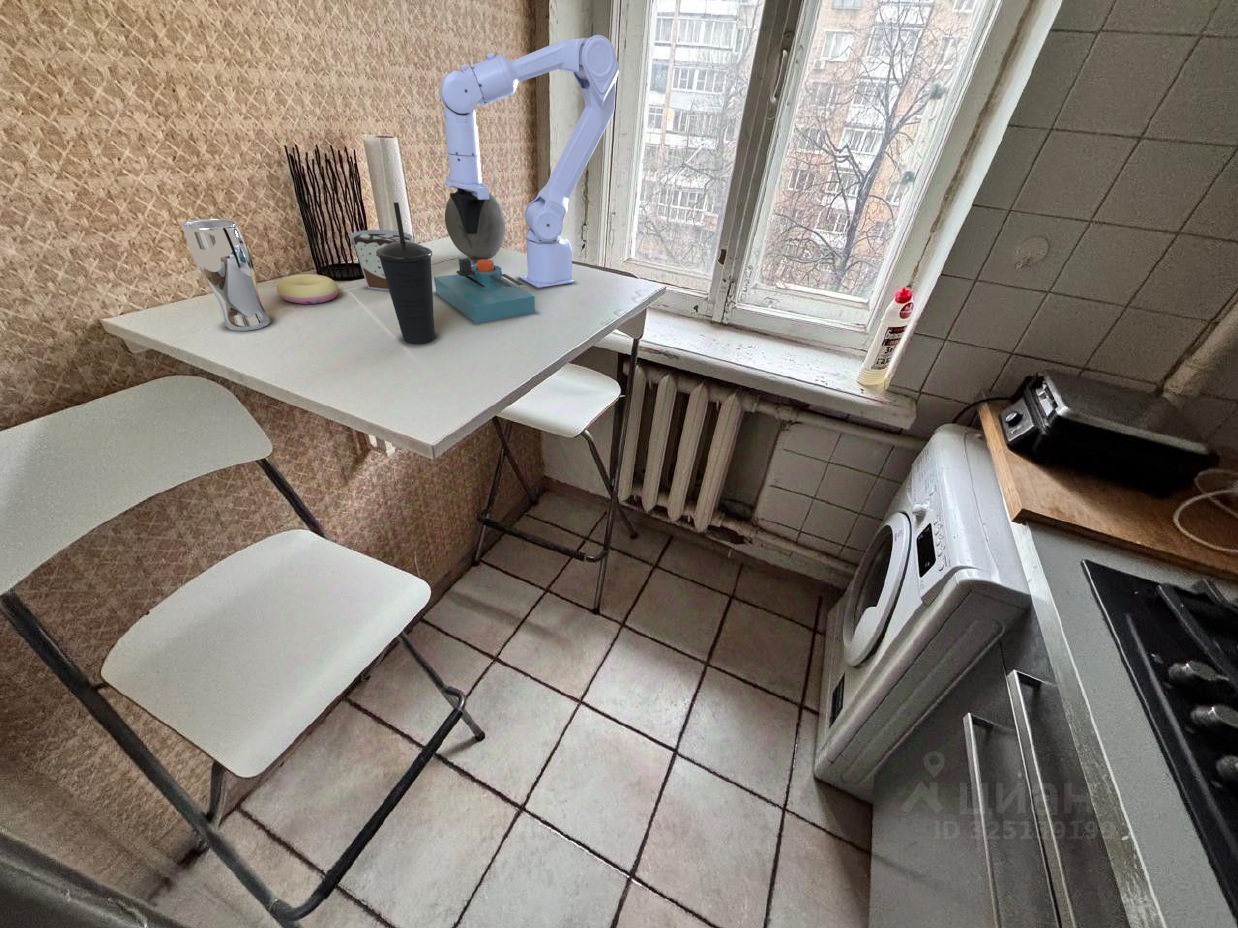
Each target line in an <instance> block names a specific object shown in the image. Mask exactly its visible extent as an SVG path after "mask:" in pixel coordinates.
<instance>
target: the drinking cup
mask: <svg viewBox="0 0 1238 928" xmlns="http://www.w3.org/2000/svg"><path fill="white" fill-rule="evenodd" d="M393 208H394V214H395V221H396V227H397V231H399V237H400V241H398V242H393V243H390V244H387V245H385V246H384V247H382V248H379V249H378V250H377V251H376V254H377V256H378V257H379V258H380V261H381V264H382V268H383V271H384V275H385V278H386V281H387V285H388V288H389V290H388V291H389V295H390V298H391V301H392V305H393V308H394V312H395V315H396V318H397V322H398V326H399V328H400V329H399V330H400V333H401V335H402V339H403V341H404V342H405V343H406V344H409V345H415V346H421V345H427V344H430V343H432V342H434V341H435V340H436V331H435V314H434V313H435V312H434V293H433V292H434V291H433V276H432V256H433V251H432V249H430V248H428V247H426V246H424V245H421V244H419V243H416V242H415V243H413V242H408V241H405V237H404V232H405V231H404V226H403V220H402V214H401V208H400V203H399V202H393Z"/></svg>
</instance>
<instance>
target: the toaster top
mask: <svg viewBox="0 0 1238 928" xmlns="http://www.w3.org/2000/svg"><path fill="white" fill-rule="evenodd" d="M454 275H455V274H454ZM500 275H502V278H504V279H506V280H507V281H509V282H511V283H513V284H514V285H516V286H524V284H523V283H522V282H521V281H518V280H517V279H516V278H513V277H511V276H510V275H508V274H506V273H502V274H500ZM455 276H458V275H455ZM465 277H466V278H468V279H470V280H471V281H473V282H474V283H476V284H477V285H479V286H480V287H485V286H484V285H482V284H481V283H479V282H477V281H476V280H474V279H473V278H471V277H469V276H468V275H467V276H465ZM489 277H491V278H493V279H494V280H496V281H498V282H499V283H501V284H503V285H504V286H506V287H512V286H511V285H509V284H508V283H506V282H504V281H502V280H501V279H499V278H497V277H496V276H494V275H492V276H489Z"/></svg>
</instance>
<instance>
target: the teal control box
mask: <svg viewBox="0 0 1238 928" xmlns="http://www.w3.org/2000/svg"><path fill="white" fill-rule="evenodd" d="M471 269H472V270H473V271H474V272H475V275H468V276H469V277H471V278H473V279H474V280H476V281H477V282H479V283H481V284H482V285H484V286H485V287H480V286H479V285H477V284H476V283H474V282H473V281H471V280H470V279H468V278H466V277H465V276H460V275H459V274H457V273H456V274H448V275H440V276H439V275H438V276H434V277H433V279H434V280H433V281H434V286H435V293H436V294H437V295H438V296H439V297H441V298H442V299H443V300H444V301H446V302H448V304H450V305H451V306H453V307H454V308H456V309H457V310H458V311H459V312H461V313H462V314H464V316H466V317H467V318H469V319H471V321H473V322H474V323H476V324H479V323H485V322H491V321H496V320H502V319H507V318H512V317H518V316H523V315H529V314H536V313H535V312H536V308H535V307H536V305H535V304H536V303H535V295H533V294H532V293H530V292H528V291H526V290H524V289H523V288H521V287H519V285H517V284H515V283H513V282H512V281H510V280H508V279H507V278H505V277H503V276H502V275H500V274H503V268H502V267H500V266H499V265H495V264H494V271H489V272H486V271H478V268H477V264H474V265H471ZM455 275H458V276H455ZM492 275H494V276H496V277H497V278H499V279H501V280H502V281H504V282H506V283H508V284H509V285H511V286H512V287H506V286H504V285H503V284H501V283H499V282H498V281H496V280H494V279H493V278H491V277H489V276H492Z"/></svg>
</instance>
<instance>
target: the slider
mask: <svg viewBox="0 0 1238 928" xmlns="http://www.w3.org/2000/svg"><path fill="white" fill-rule="evenodd" d="M458 267H459V270H456V274H459V275H460V276H467V275H475V272H474V271H473V270H472V269H471V267H472V259H469V257H466V258H459V259H458Z"/></svg>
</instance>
